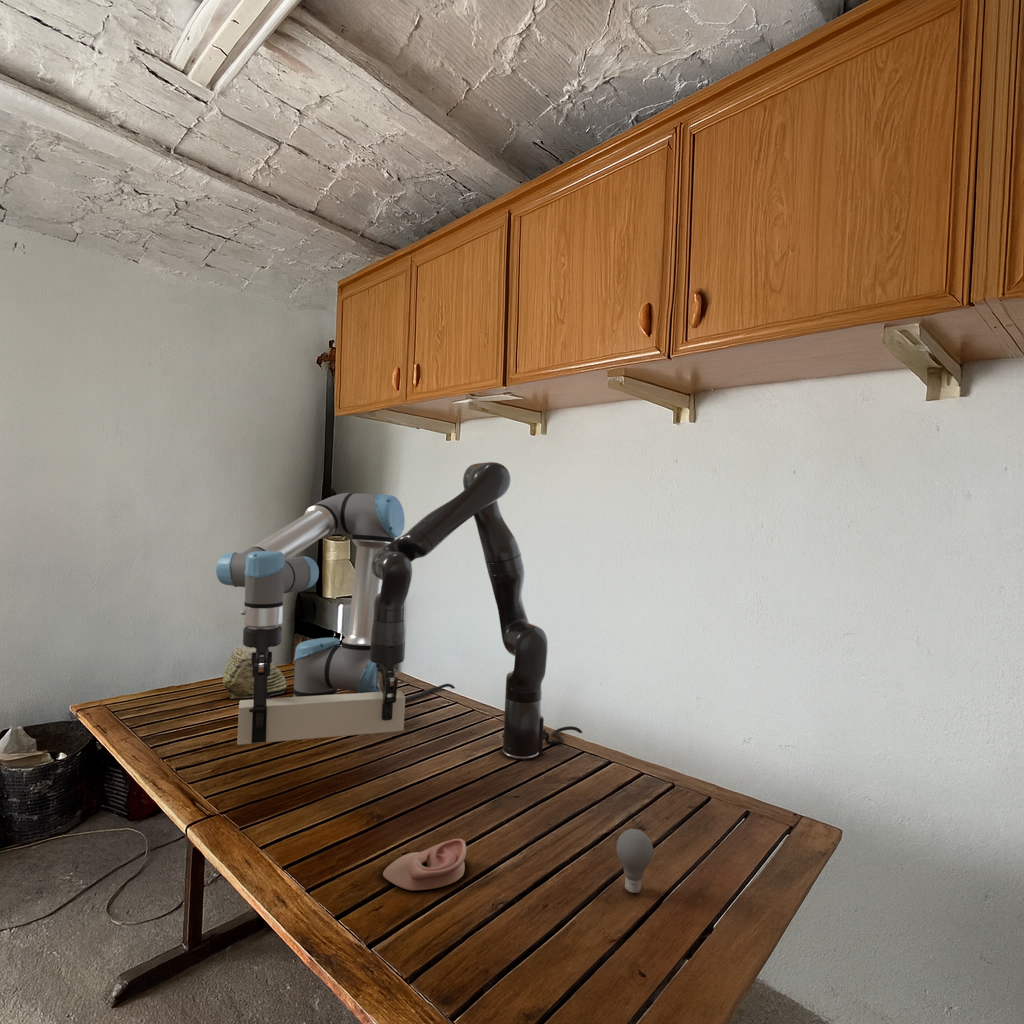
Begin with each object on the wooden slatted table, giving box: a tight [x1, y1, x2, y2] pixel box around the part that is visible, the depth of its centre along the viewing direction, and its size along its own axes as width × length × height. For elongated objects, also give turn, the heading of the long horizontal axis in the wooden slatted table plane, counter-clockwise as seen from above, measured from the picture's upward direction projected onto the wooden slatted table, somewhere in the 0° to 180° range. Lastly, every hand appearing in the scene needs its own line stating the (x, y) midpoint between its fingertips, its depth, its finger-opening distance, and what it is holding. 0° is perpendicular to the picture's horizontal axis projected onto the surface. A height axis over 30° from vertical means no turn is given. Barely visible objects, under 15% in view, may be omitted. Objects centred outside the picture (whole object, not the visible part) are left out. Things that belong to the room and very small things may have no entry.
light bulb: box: [615, 828, 654, 894], centre depth 106 cm, size 6×6×10 cm
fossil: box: [222, 646, 288, 699], centre depth 198 cm, size 9×18×15 cm, turn 132°
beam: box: [236, 690, 406, 746], centre depth 137 cm, size 34×5×8 cm, turn 111°
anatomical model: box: [382, 838, 467, 891], centre depth 108 cm, size 13×4×12 cm
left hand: (259, 736), depth 132 cm, fingers closed on beam, 5 cm apart
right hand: (384, 715), depth 141 cm, fingers closed on beam, 5 cm apart
